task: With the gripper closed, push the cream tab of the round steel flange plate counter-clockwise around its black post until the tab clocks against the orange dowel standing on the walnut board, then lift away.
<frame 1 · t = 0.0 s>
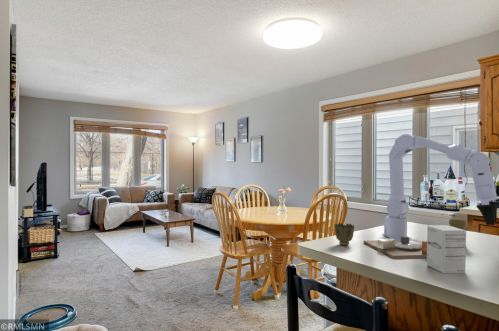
hand: (491, 223, 110), 11 cm above the breakfast bar, tool pointing down, fingers open, 7 cm apart
supplement box 2: (445, 269, 92), on the breakfast bar
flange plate: (399, 242, 113), point 3 cm above the breakfast bar, hinge at 0.0°
cork: (456, 247, 117), on the breakfast bar
cup: (344, 245, 119), on the breakfast bar
board: (404, 249, 113), on the breakfast bar
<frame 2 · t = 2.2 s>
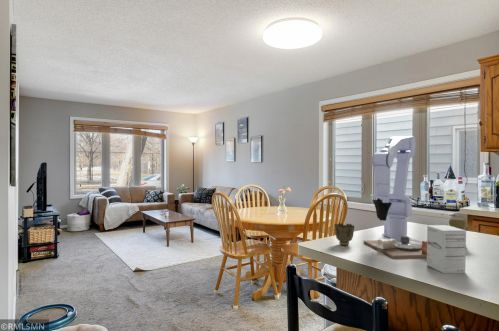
hand: (381, 219, 117), 10 cm above the breakfast bar, tool pointing down, fingers open, 3 cm apart
nothing on the breakfast bar moved.
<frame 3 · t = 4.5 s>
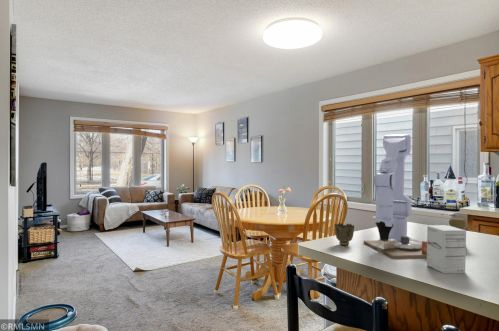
hand: (384, 242, 113), 3 cm above the breakfast bar, tool pointing down, fingers closed, pressing on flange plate
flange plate: (399, 242, 112), point 3 cm above the breakfast bar, hinge at 2.3°, touching gripper
everything else where it was.
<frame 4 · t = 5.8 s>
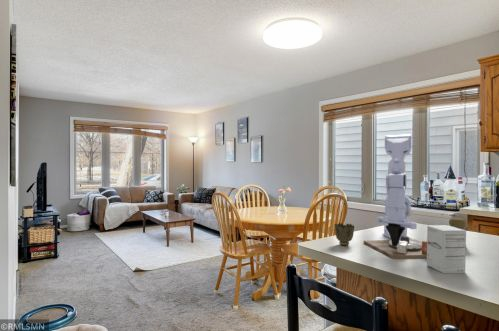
hand: (395, 245, 108), 3 cm above the breakfast bar, tool pointing down, fingers closed, pressing on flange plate
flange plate: (404, 243, 111), point 3 cm above the breakfast bar, hinge at 40.2°, touching gripper
everything else where it was.
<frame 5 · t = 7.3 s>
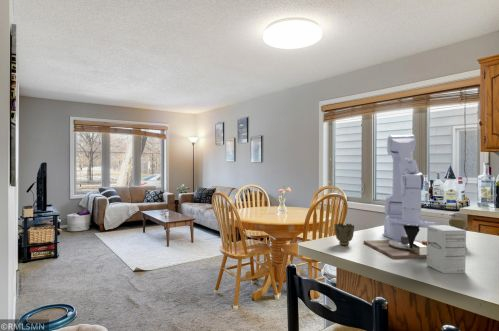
hand: (411, 247, 106), 3 cm above the breakfast bar, tool pointing down, fingers closed
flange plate: (409, 244, 111), point 3 cm above the breakfast bar, hinge at 75.8°, touching gripper
everything else where it was.
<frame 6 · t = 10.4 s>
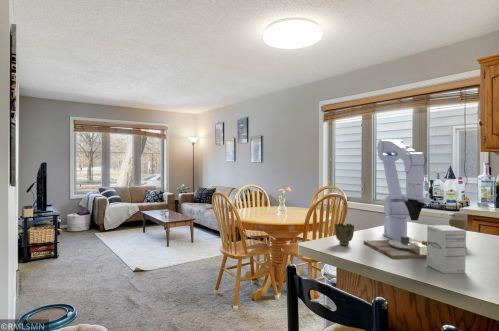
hand: (414, 220, 116), 10 cm above the breakfast bar, tool pointing down, fingers closed
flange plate: (409, 244, 111), point 3 cm above the breakfast bar, hinge at 76.2°
everything else where it was.
at the end: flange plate at +76° (first picture: +0°) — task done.
